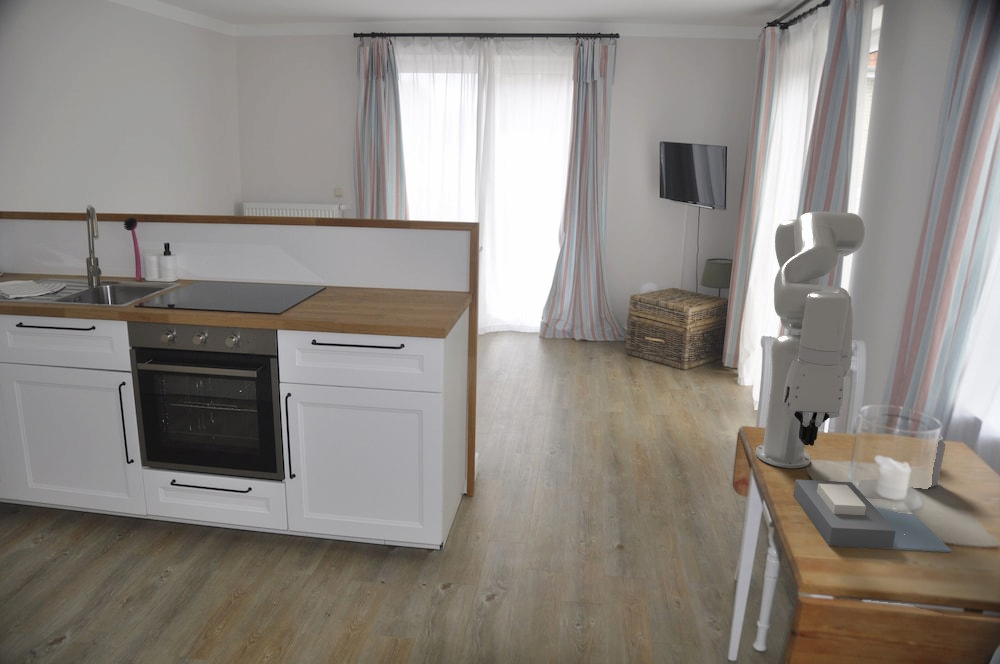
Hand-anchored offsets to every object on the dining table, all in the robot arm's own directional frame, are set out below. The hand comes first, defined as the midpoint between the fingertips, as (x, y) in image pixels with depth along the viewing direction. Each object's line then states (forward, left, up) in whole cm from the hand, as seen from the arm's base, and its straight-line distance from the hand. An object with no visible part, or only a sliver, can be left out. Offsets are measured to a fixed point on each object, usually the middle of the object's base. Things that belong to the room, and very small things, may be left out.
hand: (806, 442), depth 140 cm
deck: (0, +9, -17) cm, 20 cm away
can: (-20, +35, -18) cm, 44 cm away
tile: (0, +9, -13) cm, 16 cm away
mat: (0, +21, -17) cm, 27 cm away
